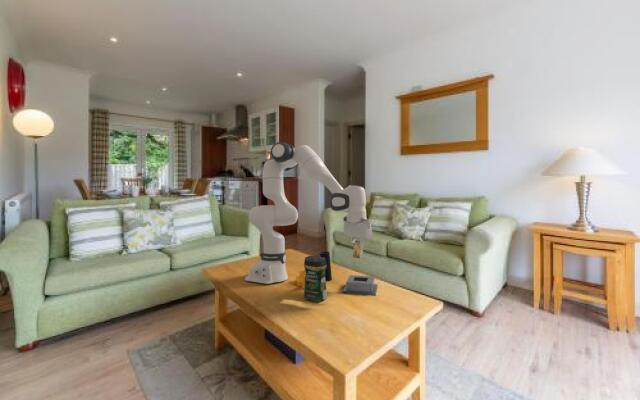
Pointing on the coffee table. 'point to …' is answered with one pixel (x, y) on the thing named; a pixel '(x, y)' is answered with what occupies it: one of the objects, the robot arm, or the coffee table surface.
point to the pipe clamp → (301, 279)
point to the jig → (360, 285)
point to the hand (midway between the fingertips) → (357, 247)
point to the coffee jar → (315, 278)
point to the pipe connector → (328, 268)
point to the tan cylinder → (357, 250)
